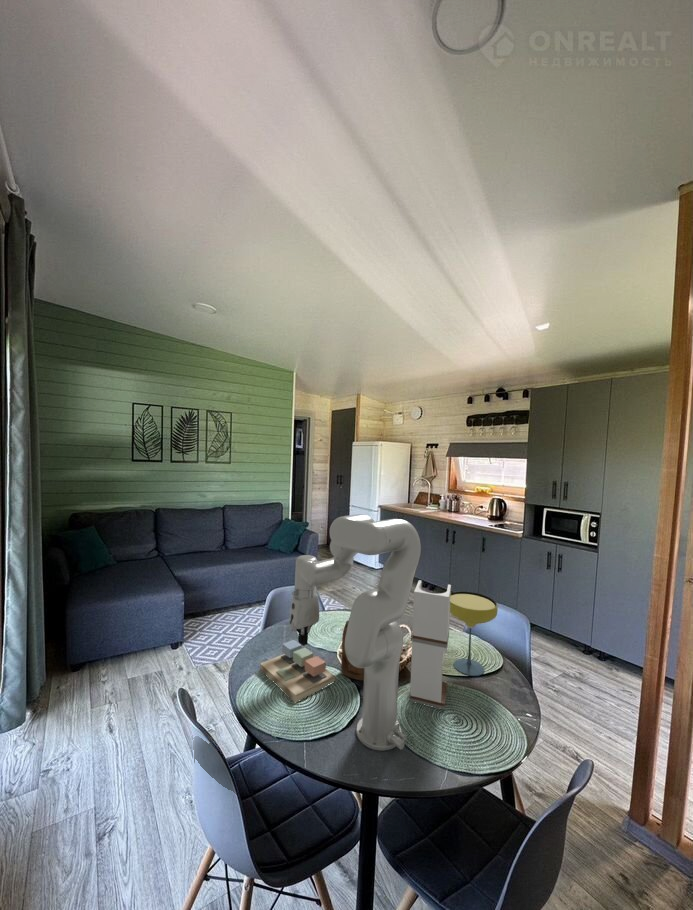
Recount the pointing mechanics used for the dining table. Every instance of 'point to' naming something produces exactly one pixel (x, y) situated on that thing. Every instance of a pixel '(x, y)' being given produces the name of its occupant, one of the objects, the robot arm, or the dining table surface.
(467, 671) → the cocktail glass
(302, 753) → the dining table surface
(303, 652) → the sage button
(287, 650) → the grey square block
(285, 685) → the wooden sorting board
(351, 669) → the dark brown curved piece
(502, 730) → the dining table surface
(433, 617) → the white square pillar
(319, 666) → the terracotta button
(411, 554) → the robot arm
